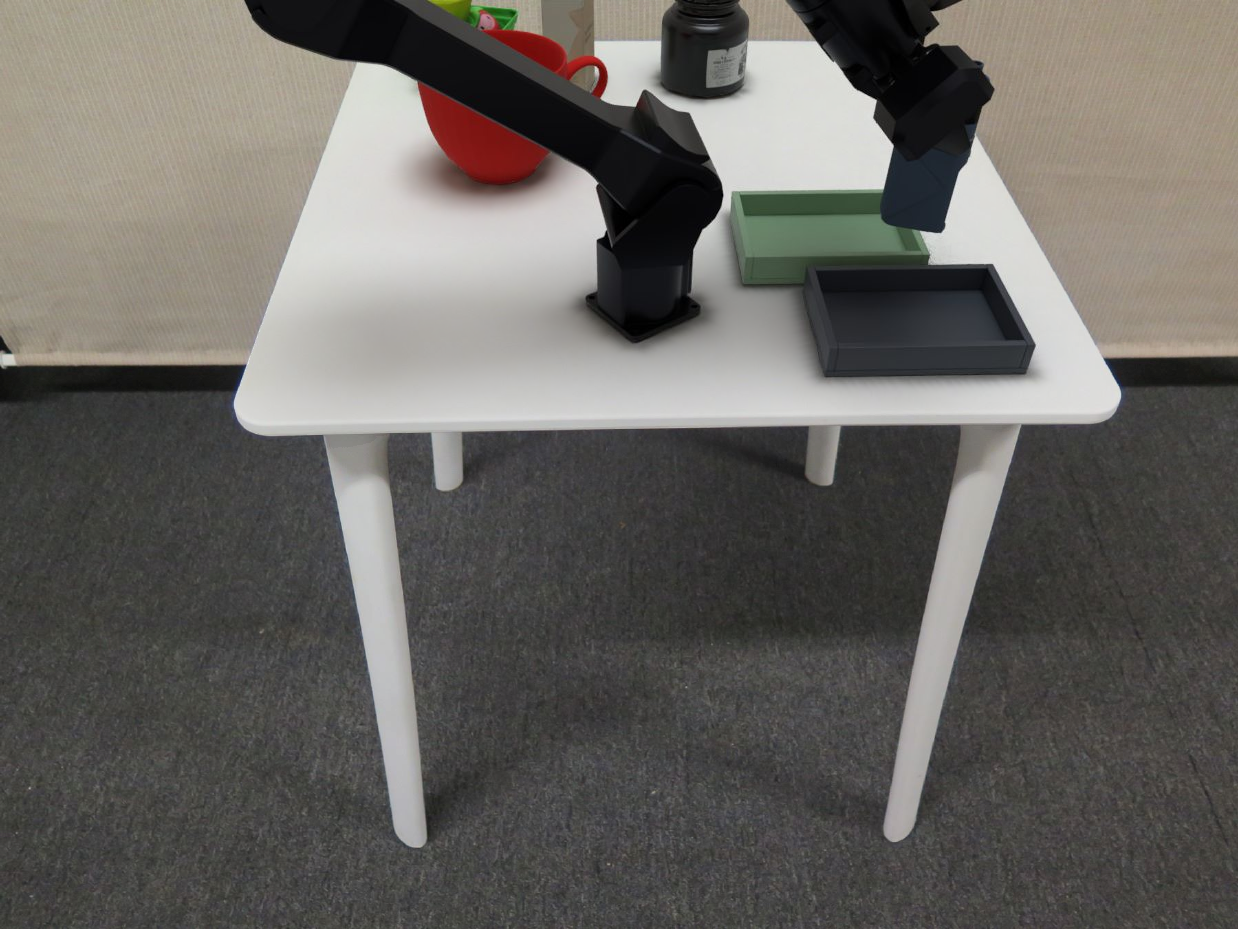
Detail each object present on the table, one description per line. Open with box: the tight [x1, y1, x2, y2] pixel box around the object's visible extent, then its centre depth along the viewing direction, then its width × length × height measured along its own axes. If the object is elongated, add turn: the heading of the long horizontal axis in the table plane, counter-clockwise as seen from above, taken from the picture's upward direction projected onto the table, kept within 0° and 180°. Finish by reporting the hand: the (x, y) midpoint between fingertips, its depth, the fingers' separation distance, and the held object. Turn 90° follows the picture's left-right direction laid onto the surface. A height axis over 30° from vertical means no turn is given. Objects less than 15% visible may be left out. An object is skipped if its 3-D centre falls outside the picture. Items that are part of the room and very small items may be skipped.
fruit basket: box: [428, 0, 519, 30], centre depth 104 cm, size 11×9×11 cm
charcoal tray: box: [802, 263, 1037, 377], centre depth 74 cm, size 14×10×2 cm
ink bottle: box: [659, 0, 750, 97], centre depth 102 cm, size 10×9×12 cm
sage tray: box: [729, 188, 931, 285], centre depth 82 cm, size 14×10×2 cm
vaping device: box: [880, 59, 991, 234], centre depth 71 cm, size 3×5×12 cm, turn 72°
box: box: [540, 0, 596, 93], centre depth 102 cm, size 5×4×11 cm
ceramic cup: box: [416, 29, 609, 185], centre depth 90 cm, size 13×17×10 cm
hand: (953, 138), depth 71 cm, fingers closed on vaping device, 3 cm apart
